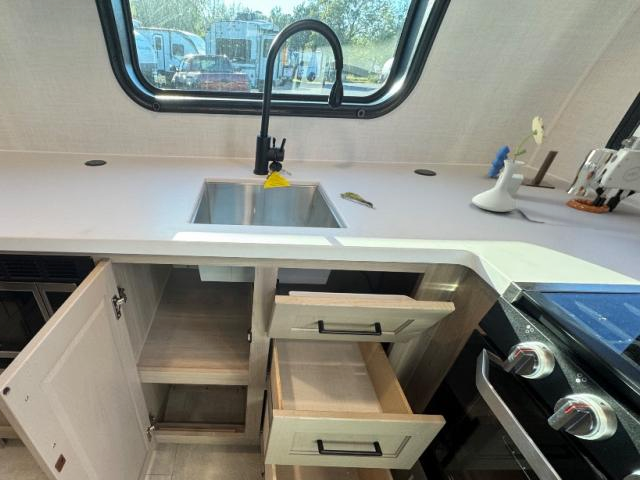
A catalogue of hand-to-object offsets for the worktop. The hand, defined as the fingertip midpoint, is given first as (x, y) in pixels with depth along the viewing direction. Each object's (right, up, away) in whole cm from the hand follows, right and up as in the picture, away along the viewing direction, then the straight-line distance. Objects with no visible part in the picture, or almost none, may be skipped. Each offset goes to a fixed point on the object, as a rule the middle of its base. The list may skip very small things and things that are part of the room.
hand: (600, 209), depth 97 cm
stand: (+1, +16, +23) cm, 27 cm away
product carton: (-22, +7, +11) cm, 26 cm away
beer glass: (+6, +8, +13) cm, 17 cm away
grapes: (-8, +22, +31) cm, 38 cm away
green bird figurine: (-74, +4, +4) cm, 74 cm away
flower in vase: (-33, +1, +2) cm, 33 cm away
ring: (-3, +1, +1) cm, 4 cm away
